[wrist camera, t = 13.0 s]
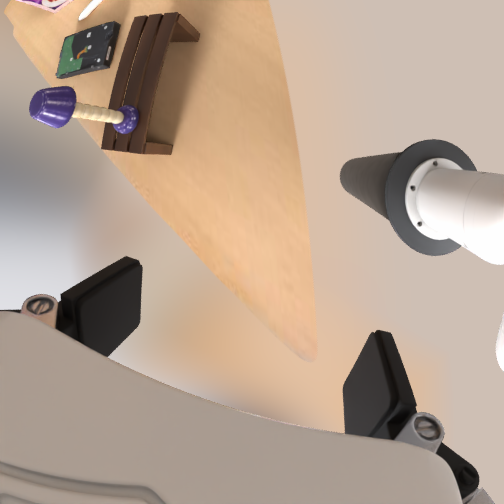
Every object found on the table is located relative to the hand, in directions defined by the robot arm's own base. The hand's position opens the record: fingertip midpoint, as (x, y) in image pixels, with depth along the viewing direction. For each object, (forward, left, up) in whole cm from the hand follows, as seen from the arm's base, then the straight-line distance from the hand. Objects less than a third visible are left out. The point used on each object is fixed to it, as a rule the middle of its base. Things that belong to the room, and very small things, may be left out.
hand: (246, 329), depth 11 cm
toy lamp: (+25, -9, -25) cm, 36 cm away
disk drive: (+46, -24, -34) cm, 62 cm away
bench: (+25, -15, -34) cm, 45 cm away
